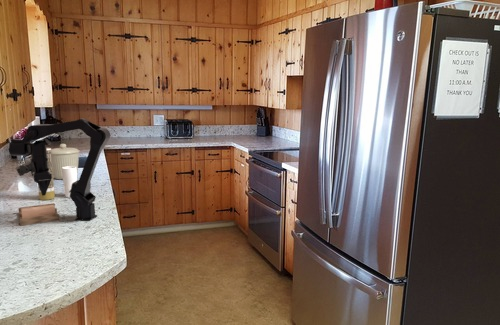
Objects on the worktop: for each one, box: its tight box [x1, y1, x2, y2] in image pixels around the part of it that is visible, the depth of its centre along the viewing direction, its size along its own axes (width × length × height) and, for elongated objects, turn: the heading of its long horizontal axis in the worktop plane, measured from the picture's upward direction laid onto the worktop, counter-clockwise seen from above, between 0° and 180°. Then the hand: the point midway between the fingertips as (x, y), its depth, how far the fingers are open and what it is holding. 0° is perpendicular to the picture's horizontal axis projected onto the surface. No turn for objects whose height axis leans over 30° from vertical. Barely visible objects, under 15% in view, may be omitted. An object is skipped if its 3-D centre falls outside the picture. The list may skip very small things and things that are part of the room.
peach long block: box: [21, 205, 56, 219], centre depth 159 cm, size 12×4×4 cm, turn 122°
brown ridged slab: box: [17, 203, 60, 227], centre depth 163 cm, size 14×18×2 cm
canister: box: [51, 143, 81, 180], centre depth 234 cm, size 18×18×21 cm
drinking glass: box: [62, 166, 78, 199], centre depth 194 cm, size 7×7×15 cm
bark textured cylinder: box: [37, 147, 55, 201], centre depth 188 cm, size 7×7×25 cm
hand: (42, 192), depth 159 cm, fingers open, 9 cm apart
